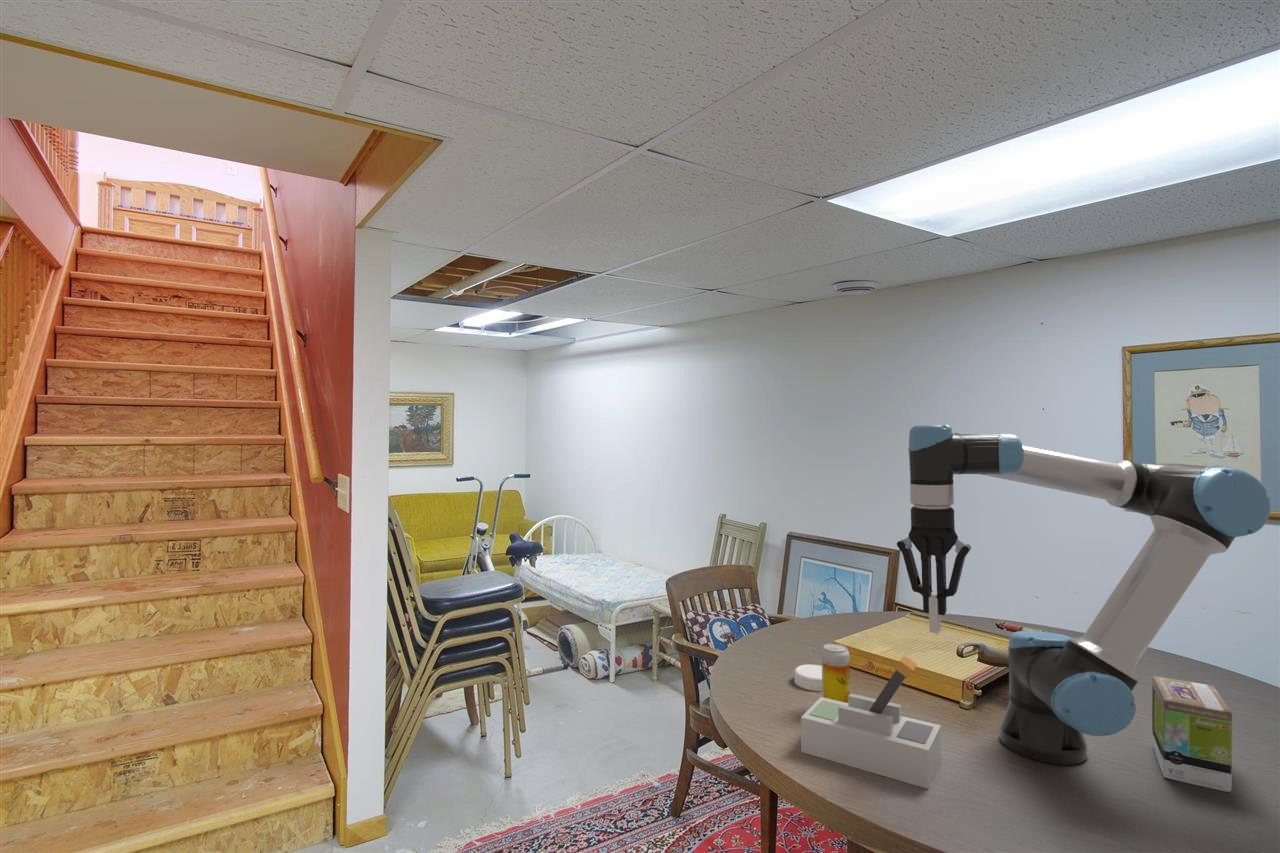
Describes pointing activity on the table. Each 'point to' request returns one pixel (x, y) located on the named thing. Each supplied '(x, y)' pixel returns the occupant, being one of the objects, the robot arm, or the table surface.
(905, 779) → the breaker block
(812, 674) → the white short cylinder
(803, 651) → the table surface
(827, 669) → the beer can
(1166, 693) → the tea box
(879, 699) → the lever
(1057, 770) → the table surface
